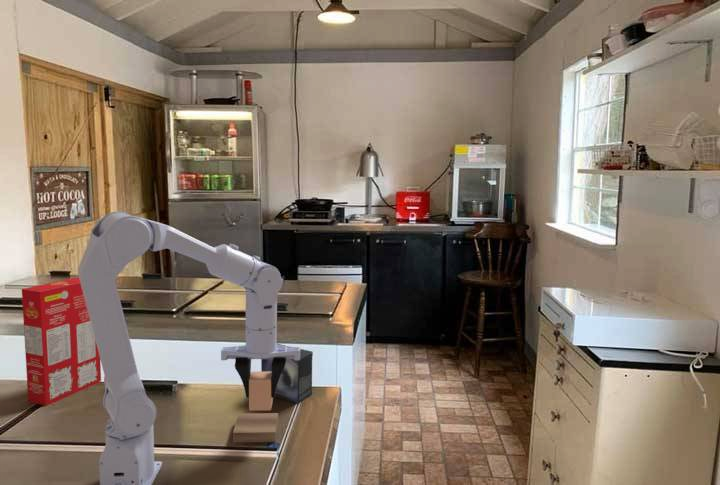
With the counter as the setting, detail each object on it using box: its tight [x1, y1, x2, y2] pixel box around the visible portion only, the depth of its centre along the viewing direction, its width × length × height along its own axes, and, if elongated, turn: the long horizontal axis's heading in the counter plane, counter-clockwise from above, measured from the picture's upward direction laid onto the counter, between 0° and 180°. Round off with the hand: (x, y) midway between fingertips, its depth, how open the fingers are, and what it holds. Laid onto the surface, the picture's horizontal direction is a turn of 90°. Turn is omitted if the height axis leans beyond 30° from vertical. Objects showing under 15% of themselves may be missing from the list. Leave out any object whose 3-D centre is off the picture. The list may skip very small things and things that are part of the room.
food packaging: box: [21, 276, 102, 407], centre depth 120 cm, size 15×5×25 cm, turn 160°
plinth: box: [232, 412, 279, 444], centre depth 105 cm, size 8×8×2 cm
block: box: [248, 371, 274, 412], centre depth 101 cm, size 4×4×6 cm
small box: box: [260, 343, 314, 404], centre depth 123 cm, size 11×6×10 cm, turn 62°
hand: (261, 395), depth 101 cm, fingers closed on block, 4 cm apart
